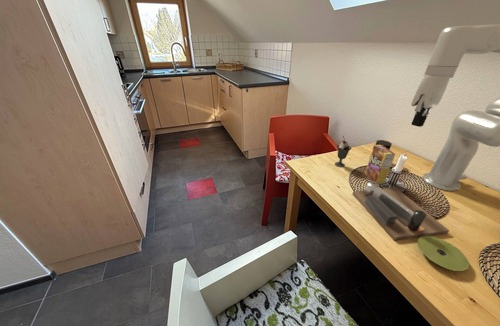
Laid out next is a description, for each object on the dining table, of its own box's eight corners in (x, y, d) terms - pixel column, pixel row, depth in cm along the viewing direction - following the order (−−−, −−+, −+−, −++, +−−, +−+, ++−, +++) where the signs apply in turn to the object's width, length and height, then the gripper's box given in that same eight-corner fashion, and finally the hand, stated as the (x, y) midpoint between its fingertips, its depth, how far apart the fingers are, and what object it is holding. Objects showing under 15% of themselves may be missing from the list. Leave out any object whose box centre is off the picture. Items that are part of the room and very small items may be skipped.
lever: (361, 191, 81) (366, 178, 78) (370, 189, 82) (374, 176, 79) (411, 232, 63) (420, 217, 60) (421, 229, 64) (430, 215, 61)
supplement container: (385, 159, 108) (391, 141, 102) (384, 165, 103) (391, 146, 97) (370, 156, 111) (376, 139, 105) (369, 161, 106) (376, 143, 100)
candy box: (363, 173, 96) (373, 144, 88) (372, 173, 96) (383, 144, 88) (374, 184, 88) (385, 153, 81) (384, 184, 88) (396, 153, 81)
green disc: (417, 233, 65) (419, 229, 64) (464, 254, 59) (468, 250, 58) (412, 257, 58) (415, 253, 57) (465, 284, 52) (470, 279, 51)
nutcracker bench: (394, 190, 85) (398, 180, 82) (447, 233, 65) (455, 222, 63) (352, 194, 83) (355, 184, 80) (393, 240, 63) (399, 229, 61)
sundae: (334, 160, 107) (340, 134, 100) (348, 163, 104) (355, 137, 96) (330, 165, 103) (337, 138, 95) (344, 169, 99) (352, 141, 92)
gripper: (437, 69, 72) (415, 119, 81) (415, 72, 65) (395, 126, 75) (464, 71, 66) (438, 124, 75) (443, 74, 60) (417, 132, 69)
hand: (416, 125), depth 75 cm, fingers closed
